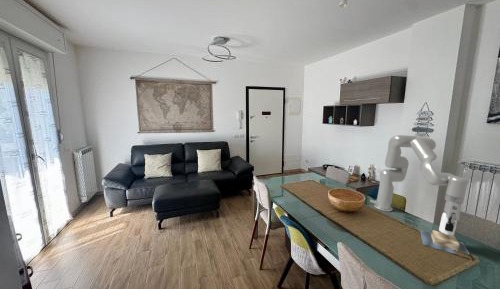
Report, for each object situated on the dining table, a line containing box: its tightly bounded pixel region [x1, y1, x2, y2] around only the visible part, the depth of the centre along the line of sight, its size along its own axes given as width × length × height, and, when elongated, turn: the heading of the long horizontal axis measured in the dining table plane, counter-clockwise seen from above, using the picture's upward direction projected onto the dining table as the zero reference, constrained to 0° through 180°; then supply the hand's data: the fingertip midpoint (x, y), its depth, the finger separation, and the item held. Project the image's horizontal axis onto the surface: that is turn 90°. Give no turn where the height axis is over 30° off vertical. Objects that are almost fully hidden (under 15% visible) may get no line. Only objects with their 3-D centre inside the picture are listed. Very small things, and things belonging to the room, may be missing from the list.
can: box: [438, 210, 458, 236], centre depth 118 cm, size 6×6×12 cm
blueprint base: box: [419, 229, 471, 255], centre depth 120 cm, size 20×18×5 cm
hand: (447, 227), depth 118 cm, fingers closed on can, 6 cm apart
